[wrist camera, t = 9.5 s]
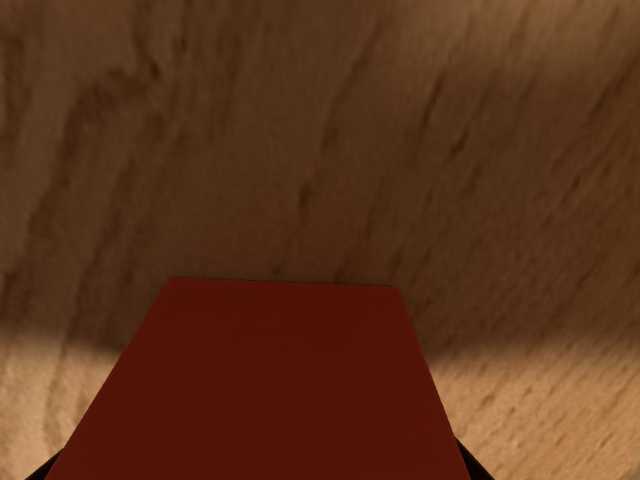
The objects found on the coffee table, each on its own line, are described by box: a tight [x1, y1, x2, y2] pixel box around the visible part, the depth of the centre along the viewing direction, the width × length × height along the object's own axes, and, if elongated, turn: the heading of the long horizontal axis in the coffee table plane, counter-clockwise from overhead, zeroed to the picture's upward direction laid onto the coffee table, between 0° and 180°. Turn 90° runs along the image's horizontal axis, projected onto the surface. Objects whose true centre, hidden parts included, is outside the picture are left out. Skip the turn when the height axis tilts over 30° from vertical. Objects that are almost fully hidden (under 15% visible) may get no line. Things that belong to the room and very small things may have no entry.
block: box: [44, 278, 471, 480], centre depth 7 cm, size 4×4×4 cm
